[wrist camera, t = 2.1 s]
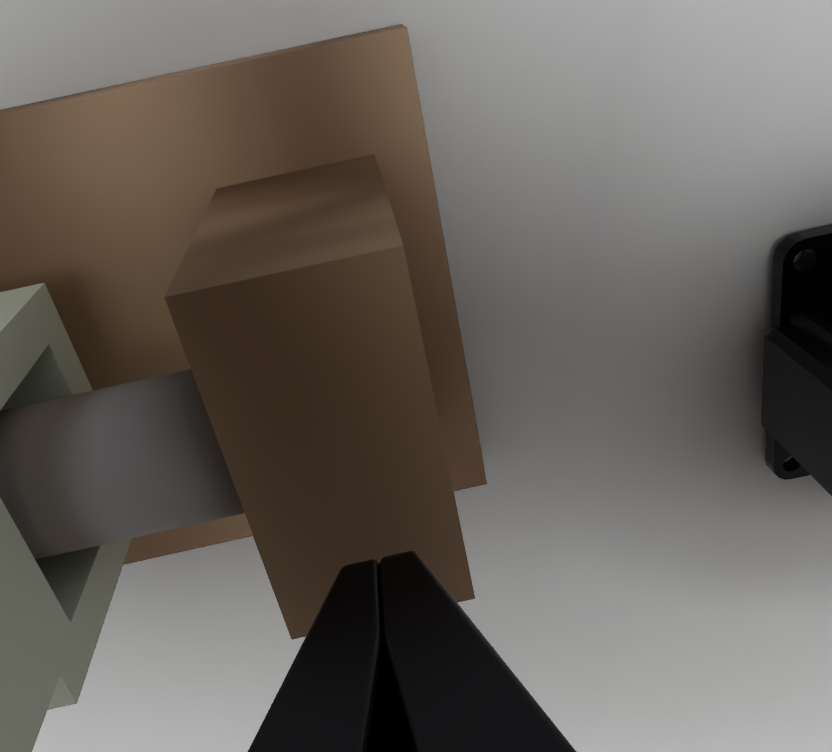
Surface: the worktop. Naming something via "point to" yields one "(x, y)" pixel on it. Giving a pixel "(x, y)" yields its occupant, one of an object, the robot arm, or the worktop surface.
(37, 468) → the pipe stand
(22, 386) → the sleeve
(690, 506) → the worktop surface
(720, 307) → the worktop surface
